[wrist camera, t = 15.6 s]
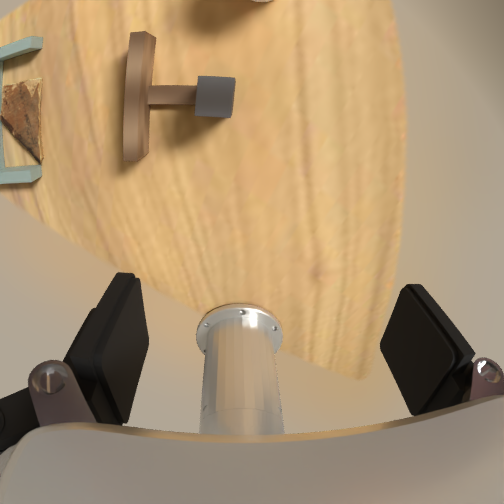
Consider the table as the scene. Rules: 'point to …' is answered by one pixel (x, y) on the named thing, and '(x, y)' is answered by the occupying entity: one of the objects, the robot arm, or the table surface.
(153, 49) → the wall doorstop
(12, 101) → the shard
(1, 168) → the bracket
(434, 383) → the robot arm
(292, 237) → the table surface
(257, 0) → the shot glass
